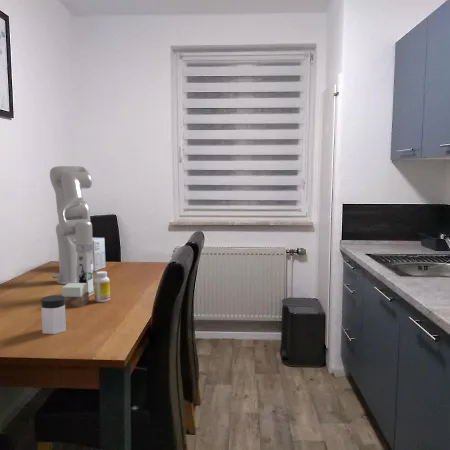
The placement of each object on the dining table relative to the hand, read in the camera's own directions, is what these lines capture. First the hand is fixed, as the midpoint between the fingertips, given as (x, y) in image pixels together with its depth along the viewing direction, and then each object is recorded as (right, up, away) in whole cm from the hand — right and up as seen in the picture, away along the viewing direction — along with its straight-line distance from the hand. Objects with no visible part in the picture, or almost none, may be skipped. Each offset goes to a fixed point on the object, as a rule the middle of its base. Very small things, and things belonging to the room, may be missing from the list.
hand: (85, 285), depth 214 cm
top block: (0, -2, -14) cm, 14 cm away
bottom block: (0, -6, -13) cm, 15 cm away
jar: (+3, -10, -47) cm, 48 cm away
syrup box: (0, -5, +1) cm, 5 cm away
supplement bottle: (+10, -6, -8) cm, 14 cm away
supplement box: (-17, +2, +59) cm, 62 cm away
